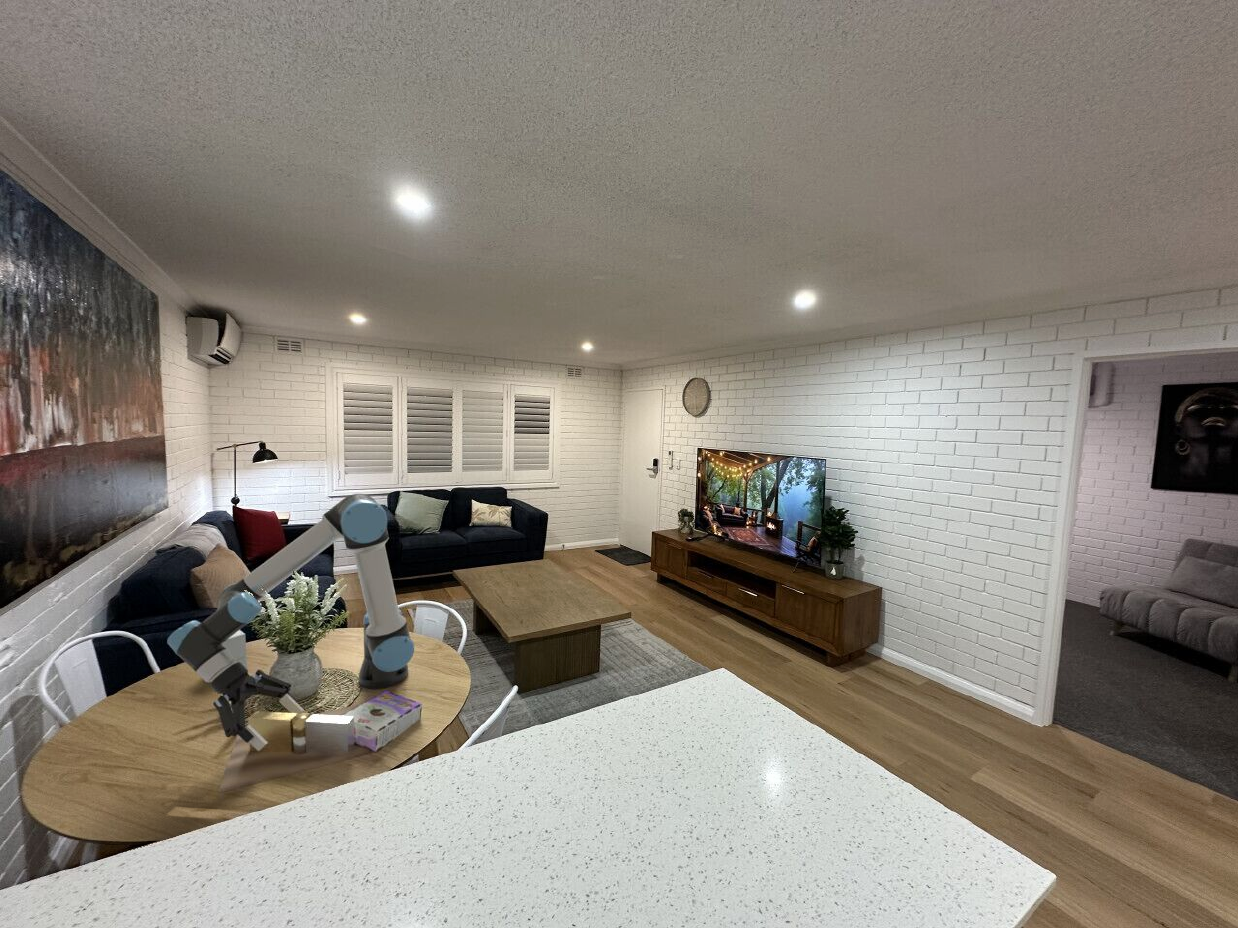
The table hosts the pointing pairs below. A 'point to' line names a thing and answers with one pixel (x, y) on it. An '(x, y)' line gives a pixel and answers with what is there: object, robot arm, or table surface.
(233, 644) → the grey tall block
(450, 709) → the table surface
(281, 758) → the walnut board
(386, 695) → the candy box
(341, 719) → the fixed hinge leaf
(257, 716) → the loose hinge leaf
